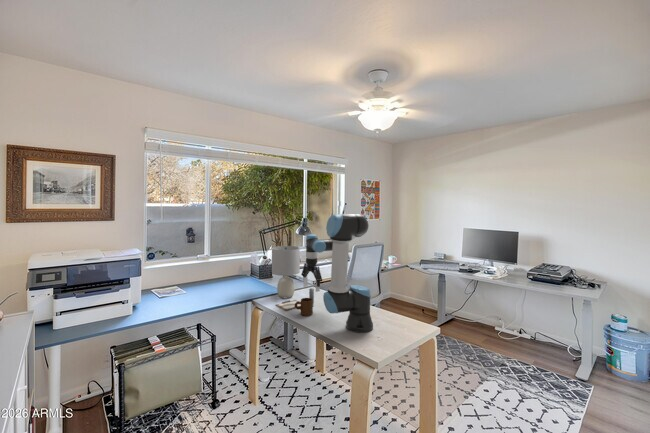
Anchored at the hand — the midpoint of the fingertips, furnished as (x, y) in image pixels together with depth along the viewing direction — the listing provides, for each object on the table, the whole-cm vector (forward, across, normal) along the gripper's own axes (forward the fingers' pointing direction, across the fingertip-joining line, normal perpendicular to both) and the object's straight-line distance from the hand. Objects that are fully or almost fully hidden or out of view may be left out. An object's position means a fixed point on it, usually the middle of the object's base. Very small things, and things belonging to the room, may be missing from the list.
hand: (311, 288), depth 211 cm
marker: (+12, 0, 0) cm, 12 cm away
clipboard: (+12, +10, +10) cm, 18 cm away
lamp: (+13, +28, +2) cm, 31 cm away
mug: (+12, -10, +13) cm, 20 cm away
